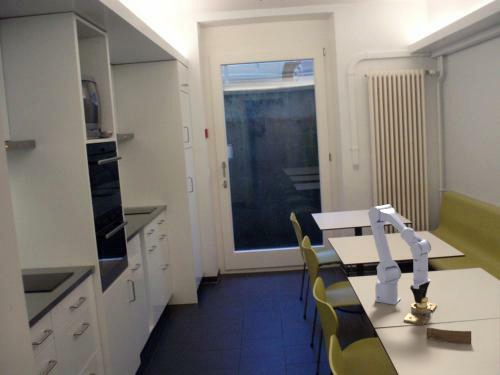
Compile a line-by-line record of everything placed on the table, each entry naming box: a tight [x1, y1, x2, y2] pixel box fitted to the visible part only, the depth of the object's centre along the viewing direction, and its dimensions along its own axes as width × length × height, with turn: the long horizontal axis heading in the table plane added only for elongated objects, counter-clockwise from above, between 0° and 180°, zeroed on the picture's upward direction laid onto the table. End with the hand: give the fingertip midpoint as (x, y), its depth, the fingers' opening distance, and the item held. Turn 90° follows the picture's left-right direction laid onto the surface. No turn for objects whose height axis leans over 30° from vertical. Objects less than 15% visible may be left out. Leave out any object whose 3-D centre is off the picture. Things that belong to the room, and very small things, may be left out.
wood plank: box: [425, 327, 472, 345], centre depth 174 cm, size 15×2×5 cm, turn 70°
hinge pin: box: [417, 296, 429, 308], centre depth 199 cm, size 5×5×7 cm
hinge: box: [403, 302, 438, 326], centre depth 200 cm, size 8×22×4 cm, turn 146°
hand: (420, 299), depth 199 cm, fingers open, 7 cm apart
